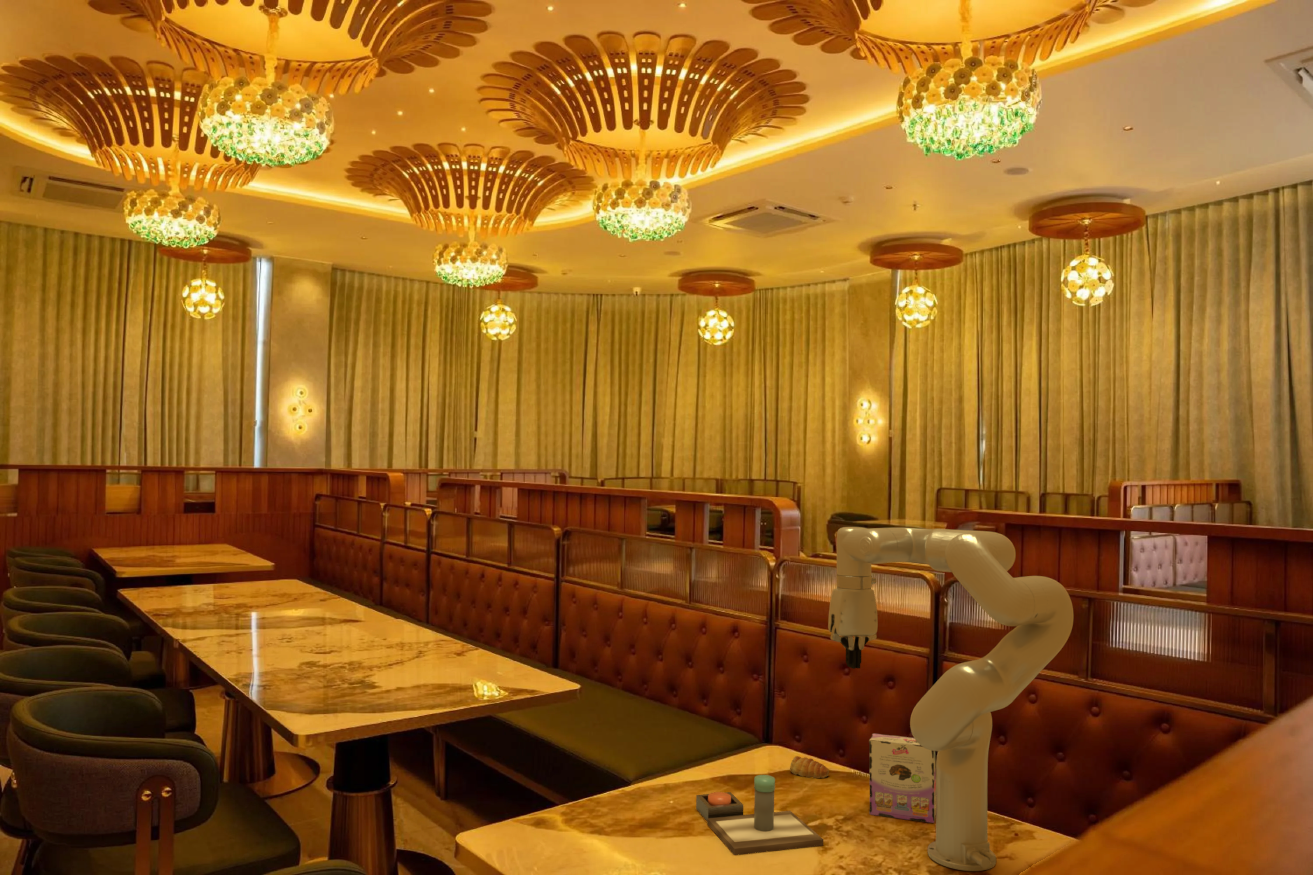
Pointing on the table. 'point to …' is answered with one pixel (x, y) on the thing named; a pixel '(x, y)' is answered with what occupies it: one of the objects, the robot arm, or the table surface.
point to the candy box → (902, 779)
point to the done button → (719, 798)
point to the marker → (764, 802)
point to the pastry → (808, 768)
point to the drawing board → (764, 833)
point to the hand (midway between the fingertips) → (853, 667)
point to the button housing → (718, 807)
